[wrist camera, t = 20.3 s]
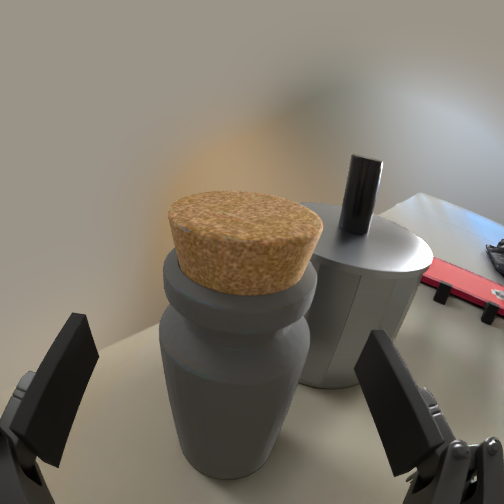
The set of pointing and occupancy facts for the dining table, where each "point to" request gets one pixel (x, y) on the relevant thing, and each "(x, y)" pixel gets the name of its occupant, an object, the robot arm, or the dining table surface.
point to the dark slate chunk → (497, 256)
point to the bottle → (235, 323)
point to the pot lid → (366, 231)
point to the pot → (350, 321)
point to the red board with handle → (465, 287)
